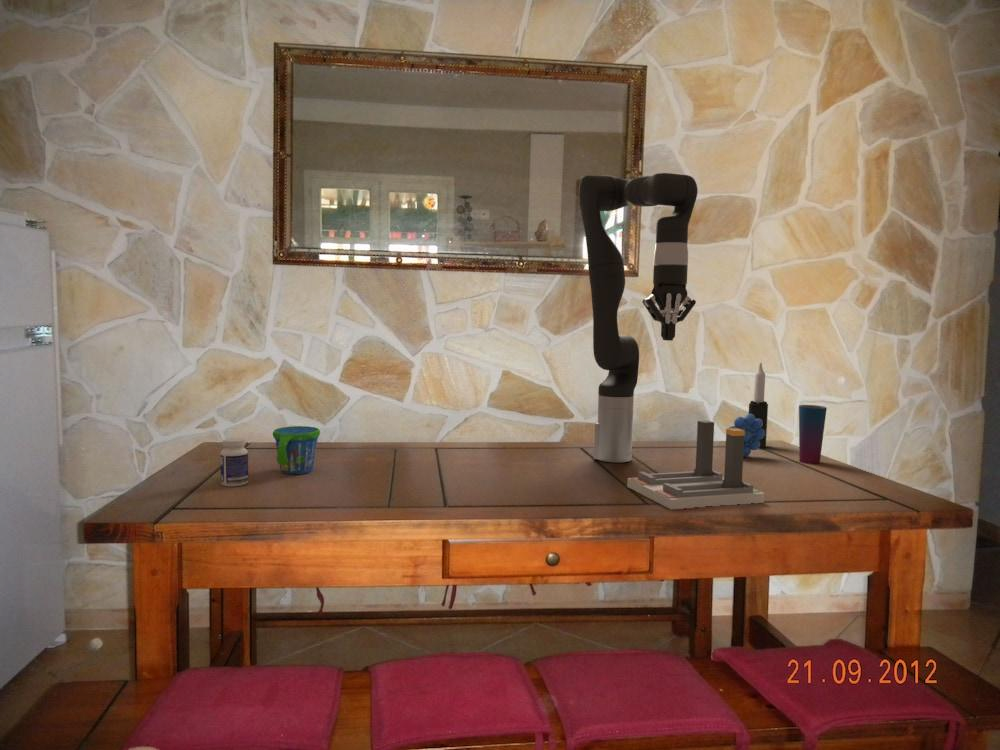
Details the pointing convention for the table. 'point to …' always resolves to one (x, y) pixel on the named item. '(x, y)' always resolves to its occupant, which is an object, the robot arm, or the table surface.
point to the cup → (811, 432)
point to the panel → (694, 481)
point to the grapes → (750, 432)
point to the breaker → (734, 458)
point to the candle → (760, 402)
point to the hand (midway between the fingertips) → (667, 340)
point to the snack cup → (296, 448)
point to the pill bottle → (234, 462)
